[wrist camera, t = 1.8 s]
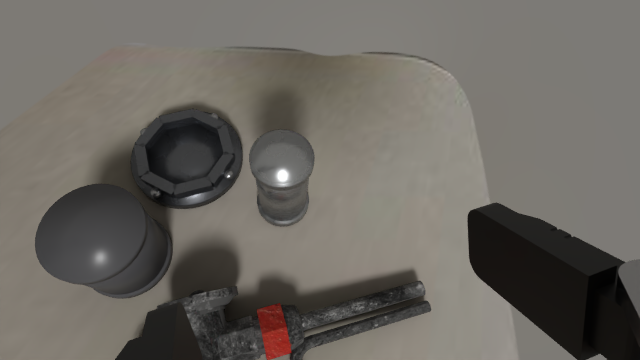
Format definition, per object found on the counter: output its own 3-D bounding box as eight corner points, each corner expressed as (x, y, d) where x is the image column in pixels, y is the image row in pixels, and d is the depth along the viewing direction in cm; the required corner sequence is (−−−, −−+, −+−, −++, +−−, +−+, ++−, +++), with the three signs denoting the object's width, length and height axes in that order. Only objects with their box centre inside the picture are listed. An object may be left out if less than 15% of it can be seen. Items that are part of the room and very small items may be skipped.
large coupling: (90, 310, 33) (36, 297, 26) (83, 230, 36) (32, 198, 29) (179, 283, 35) (151, 263, 28) (165, 208, 38) (137, 172, 31)
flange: (142, 222, 37) (134, 214, 35) (128, 128, 41) (119, 117, 39) (254, 192, 39) (252, 183, 37) (229, 106, 43) (226, 94, 41)
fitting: (265, 233, 38) (258, 193, 28) (252, 187, 39) (242, 136, 30) (314, 218, 39) (323, 175, 30) (299, 175, 40) (303, 122, 31)
